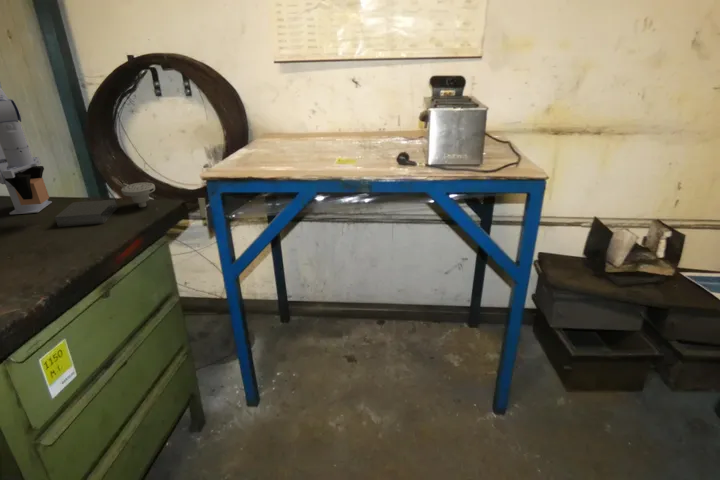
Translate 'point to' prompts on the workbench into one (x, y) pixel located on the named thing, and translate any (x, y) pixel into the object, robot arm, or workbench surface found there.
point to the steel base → (86, 213)
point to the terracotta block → (35, 192)
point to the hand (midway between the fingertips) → (33, 195)
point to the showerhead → (138, 192)
